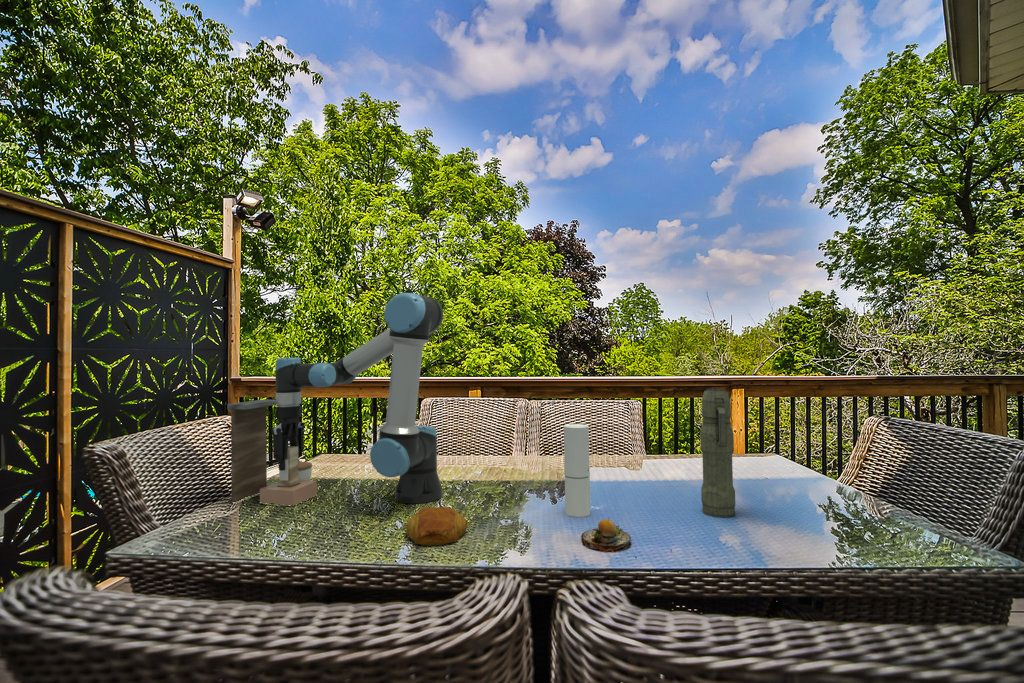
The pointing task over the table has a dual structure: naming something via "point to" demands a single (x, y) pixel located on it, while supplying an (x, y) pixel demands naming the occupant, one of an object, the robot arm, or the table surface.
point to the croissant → (436, 526)
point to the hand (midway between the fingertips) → (289, 478)
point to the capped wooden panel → (248, 447)
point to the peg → (291, 467)
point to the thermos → (717, 454)
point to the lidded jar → (304, 470)
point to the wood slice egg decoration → (606, 537)
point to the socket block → (288, 493)
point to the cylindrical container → (577, 470)
